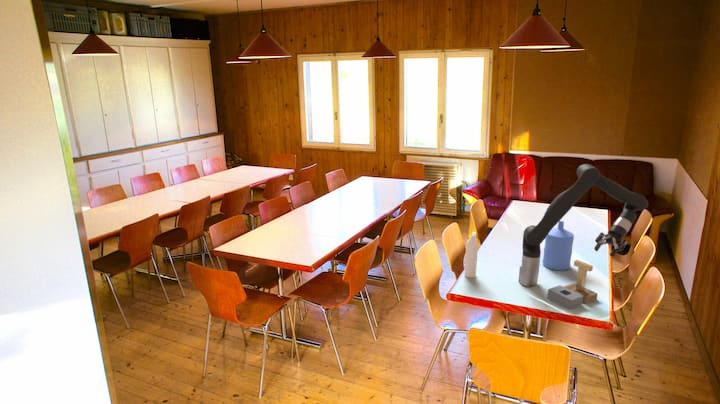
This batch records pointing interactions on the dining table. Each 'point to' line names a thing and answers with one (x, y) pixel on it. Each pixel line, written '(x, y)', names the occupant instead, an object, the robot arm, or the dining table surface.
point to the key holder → (565, 297)
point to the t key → (581, 274)
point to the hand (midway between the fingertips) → (603, 253)
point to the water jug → (558, 248)
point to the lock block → (583, 293)
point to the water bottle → (471, 256)
